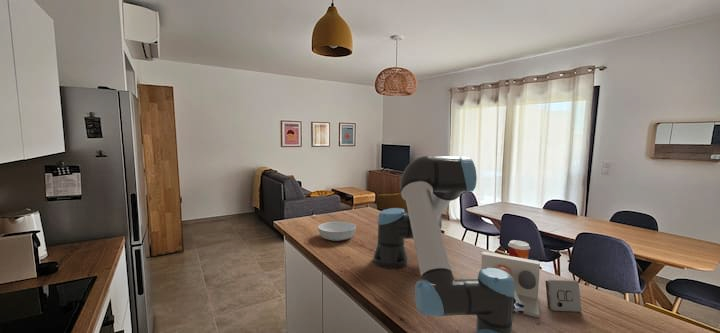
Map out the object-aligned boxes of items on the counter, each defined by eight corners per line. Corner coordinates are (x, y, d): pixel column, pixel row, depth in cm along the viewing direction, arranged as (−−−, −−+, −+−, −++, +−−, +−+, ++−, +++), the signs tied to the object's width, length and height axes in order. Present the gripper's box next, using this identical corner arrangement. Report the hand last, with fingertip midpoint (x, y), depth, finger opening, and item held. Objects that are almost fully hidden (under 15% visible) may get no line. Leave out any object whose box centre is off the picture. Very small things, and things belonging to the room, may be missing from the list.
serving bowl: (363, 236, 167) (363, 224, 166) (341, 247, 149) (341, 234, 149) (333, 230, 178) (333, 219, 177) (309, 240, 160) (309, 227, 160)
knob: (491, 284, 103) (492, 267, 102) (495, 270, 114) (495, 255, 113) (511, 288, 100) (512, 271, 99) (512, 273, 111) (513, 258, 111)
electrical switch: (551, 311, 95) (551, 282, 95) (542, 304, 100) (542, 276, 100) (582, 312, 94) (582, 283, 94) (571, 305, 99) (571, 277, 99)
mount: (476, 301, 100) (478, 264, 99) (481, 284, 112) (483, 250, 111) (538, 317, 91) (541, 276, 90) (537, 297, 103) (539, 260, 102)
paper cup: (520, 283, 113) (522, 247, 112) (502, 275, 120) (504, 241, 119) (532, 279, 117) (534, 244, 116) (514, 271, 124) (516, 238, 122)
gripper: (469, 322, 82) (480, 286, 102) (524, 337, 75) (523, 295, 96) (471, 295, 81) (481, 264, 102) (525, 309, 75) (525, 273, 95)
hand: (502, 279), depth 99 cm, fingers closed
